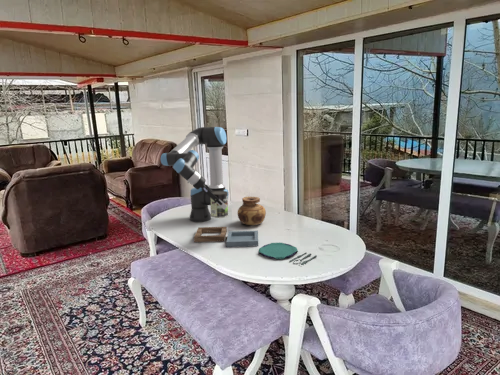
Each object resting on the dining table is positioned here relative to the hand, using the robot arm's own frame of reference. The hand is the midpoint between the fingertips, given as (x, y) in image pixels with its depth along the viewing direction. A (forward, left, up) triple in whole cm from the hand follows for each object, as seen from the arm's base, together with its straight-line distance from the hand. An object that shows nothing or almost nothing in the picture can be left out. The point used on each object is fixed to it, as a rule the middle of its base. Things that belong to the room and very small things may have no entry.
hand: (224, 205), depth 217 cm
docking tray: (+3, +10, -21) cm, 24 cm away
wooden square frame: (-6, -10, -21) cm, 24 cm away
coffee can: (+1, -3, -6) cm, 7 cm away
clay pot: (-29, +15, -21) cm, 39 cm away
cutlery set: (+26, +34, -22) cm, 48 cm away
